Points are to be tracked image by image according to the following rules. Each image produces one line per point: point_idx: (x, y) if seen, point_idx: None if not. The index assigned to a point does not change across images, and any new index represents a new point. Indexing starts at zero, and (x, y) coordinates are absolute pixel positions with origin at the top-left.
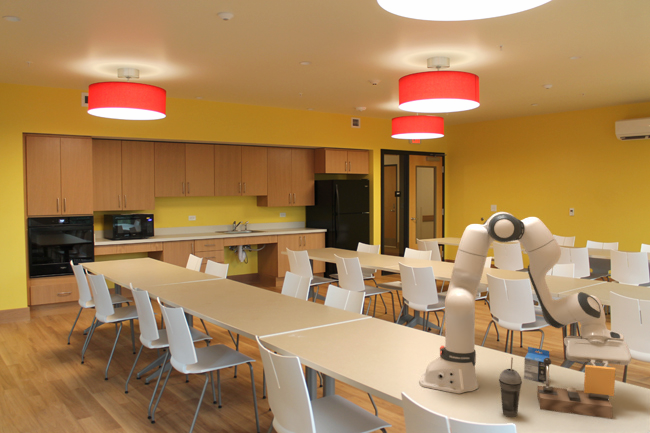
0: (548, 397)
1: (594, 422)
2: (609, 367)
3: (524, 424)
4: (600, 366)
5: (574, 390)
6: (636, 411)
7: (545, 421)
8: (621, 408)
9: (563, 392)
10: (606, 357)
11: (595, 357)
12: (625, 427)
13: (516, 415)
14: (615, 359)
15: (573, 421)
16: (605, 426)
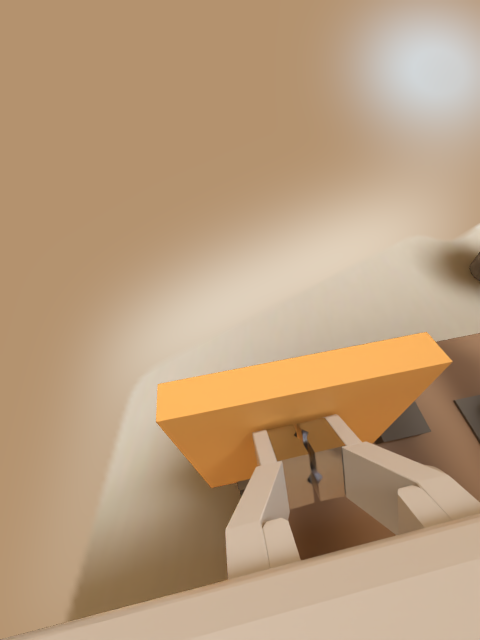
0: (466, 353)
1: (277, 337)
2: (213, 403)
3: (427, 244)
4: (303, 389)
5: None
6: (118, 551)
7: (395, 280)
8: (180, 557)
9: (453, 459)
10: (243, 603)
11: (445, 532)
12: (192, 347)
13: (473, 267)
14: (66, 626)
15: (332, 315)
16: (247, 325)
